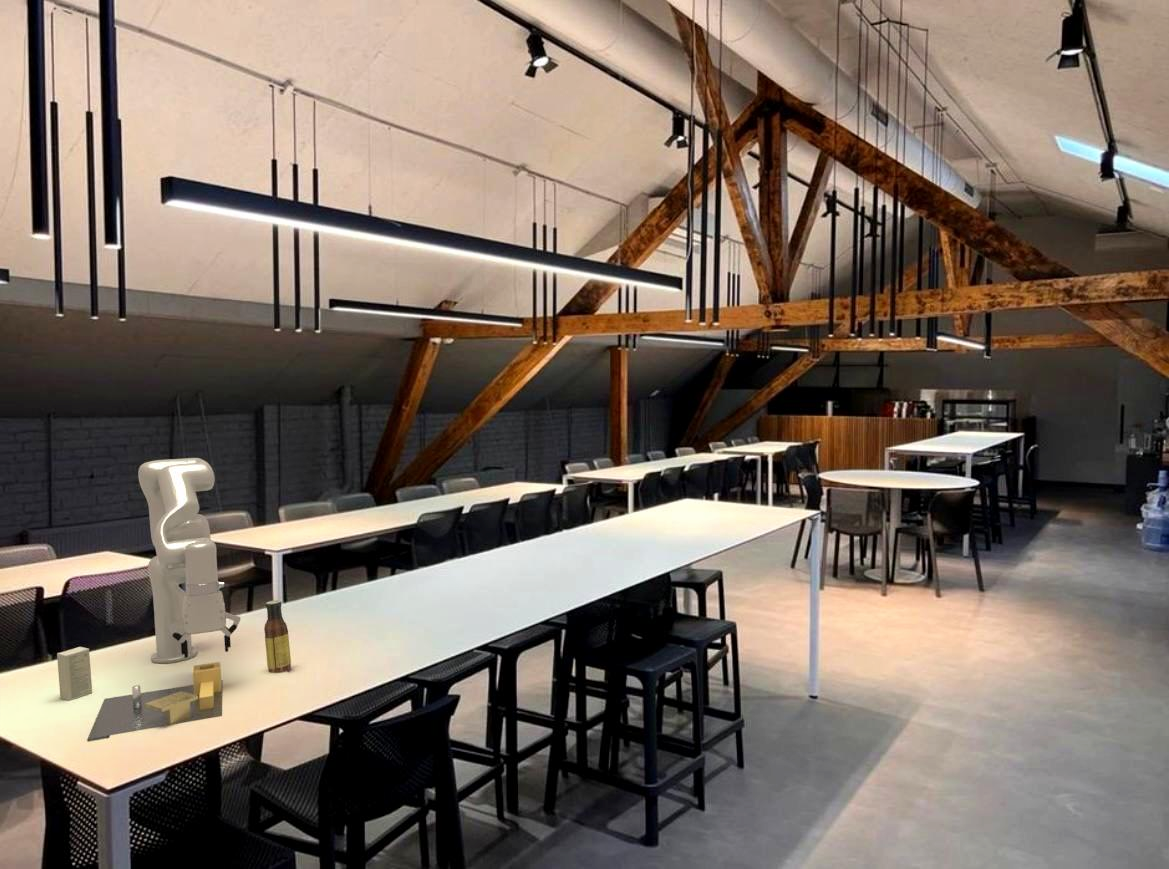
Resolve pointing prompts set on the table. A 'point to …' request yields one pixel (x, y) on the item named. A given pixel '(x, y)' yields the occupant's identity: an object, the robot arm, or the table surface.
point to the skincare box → (74, 673)
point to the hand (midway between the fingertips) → (206, 653)
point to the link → (207, 683)
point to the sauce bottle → (276, 639)
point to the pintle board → (151, 710)
